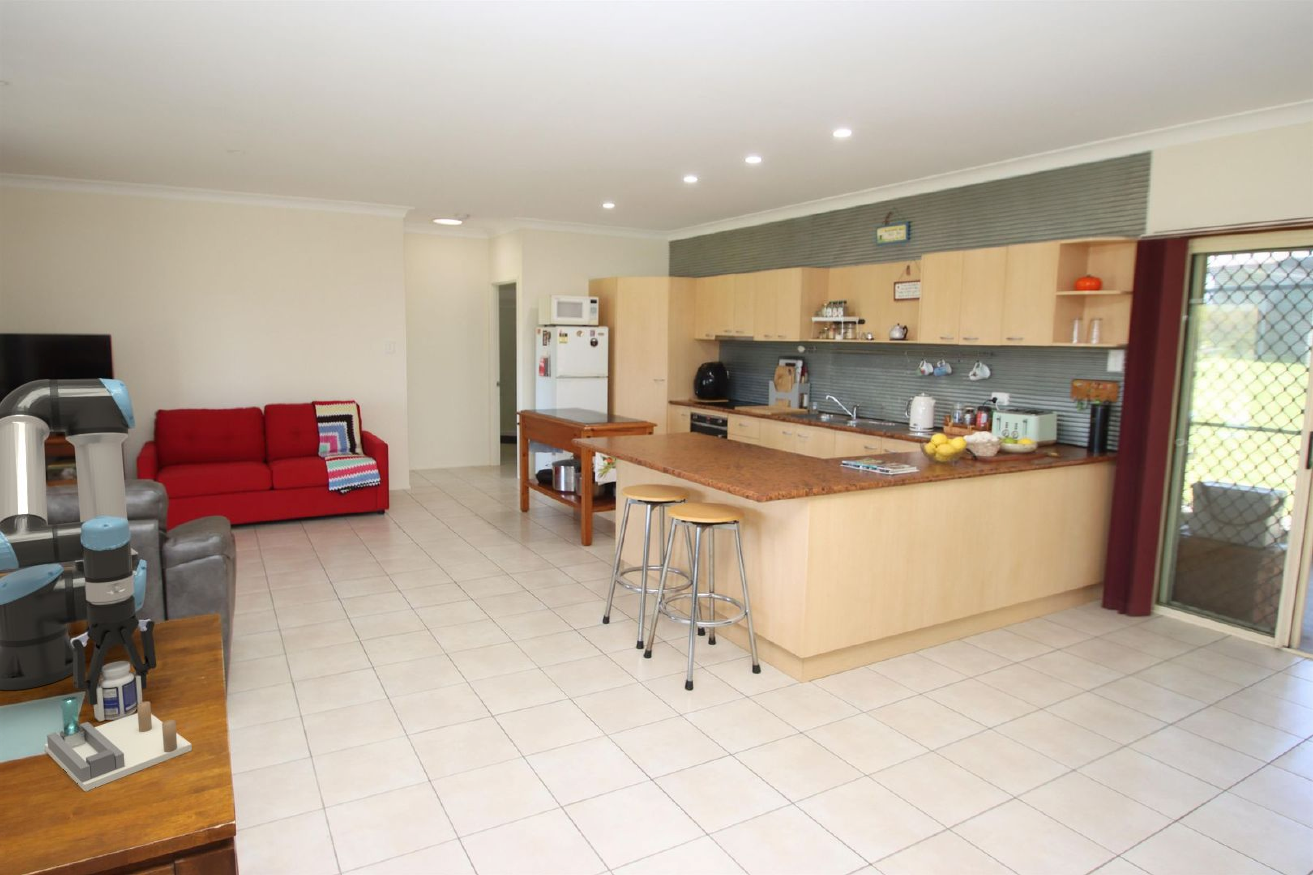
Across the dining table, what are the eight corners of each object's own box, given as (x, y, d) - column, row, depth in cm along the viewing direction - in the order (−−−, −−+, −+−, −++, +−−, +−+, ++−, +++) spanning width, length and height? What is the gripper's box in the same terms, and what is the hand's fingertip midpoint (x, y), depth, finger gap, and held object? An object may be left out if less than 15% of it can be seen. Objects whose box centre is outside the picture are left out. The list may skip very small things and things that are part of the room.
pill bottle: (131, 703, 152) (128, 656, 150) (141, 713, 148) (137, 665, 147) (97, 714, 147) (93, 665, 146) (106, 724, 144) (102, 674, 142)
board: (45, 750, 134) (42, 717, 133) (146, 715, 147) (144, 685, 146) (84, 791, 122) (82, 755, 122) (191, 750, 135) (189, 717, 134)
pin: (60, 744, 134) (56, 700, 133) (79, 738, 136) (75, 694, 135) (65, 750, 132) (62, 704, 131) (84, 743, 134) (81, 699, 133)
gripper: (57, 616, 135) (67, 737, 138) (172, 590, 150) (179, 700, 153) (43, 607, 139) (53, 724, 142) (157, 582, 154) (164, 689, 157)
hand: (119, 711), depth 147 cm, fingers closed on pill bottle, 6 cm apart
